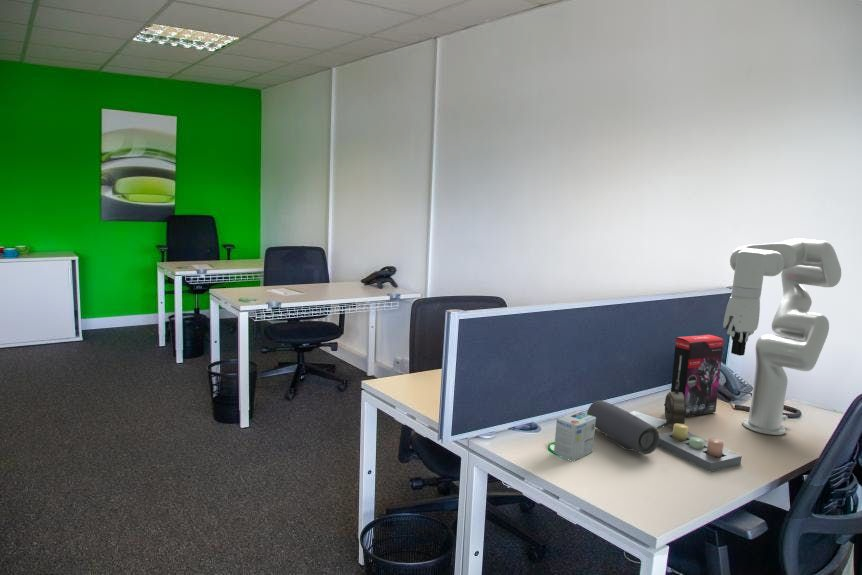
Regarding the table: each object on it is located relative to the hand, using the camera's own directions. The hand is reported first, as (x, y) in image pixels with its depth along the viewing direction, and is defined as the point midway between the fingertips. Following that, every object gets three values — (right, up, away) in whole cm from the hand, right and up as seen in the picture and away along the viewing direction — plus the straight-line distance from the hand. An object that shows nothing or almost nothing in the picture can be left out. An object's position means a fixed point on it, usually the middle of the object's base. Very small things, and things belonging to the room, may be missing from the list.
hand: (737, 354), depth 177 cm
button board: (-13, -29, -2) cm, 32 cm away
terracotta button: (-10, -28, -7) cm, 30 cm away
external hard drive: (-19, -26, +23) cm, 39 cm away
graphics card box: (+1, -25, +34) cm, 42 cm away
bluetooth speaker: (-34, -27, +3) cm, 44 cm away
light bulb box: (-50, -28, -7) cm, 58 cm away
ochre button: (-16, -26, +3) cm, 30 cm away
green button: (-13, -29, -2) cm, 32 cm away
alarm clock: (-12, -26, +18) cm, 34 cm away
